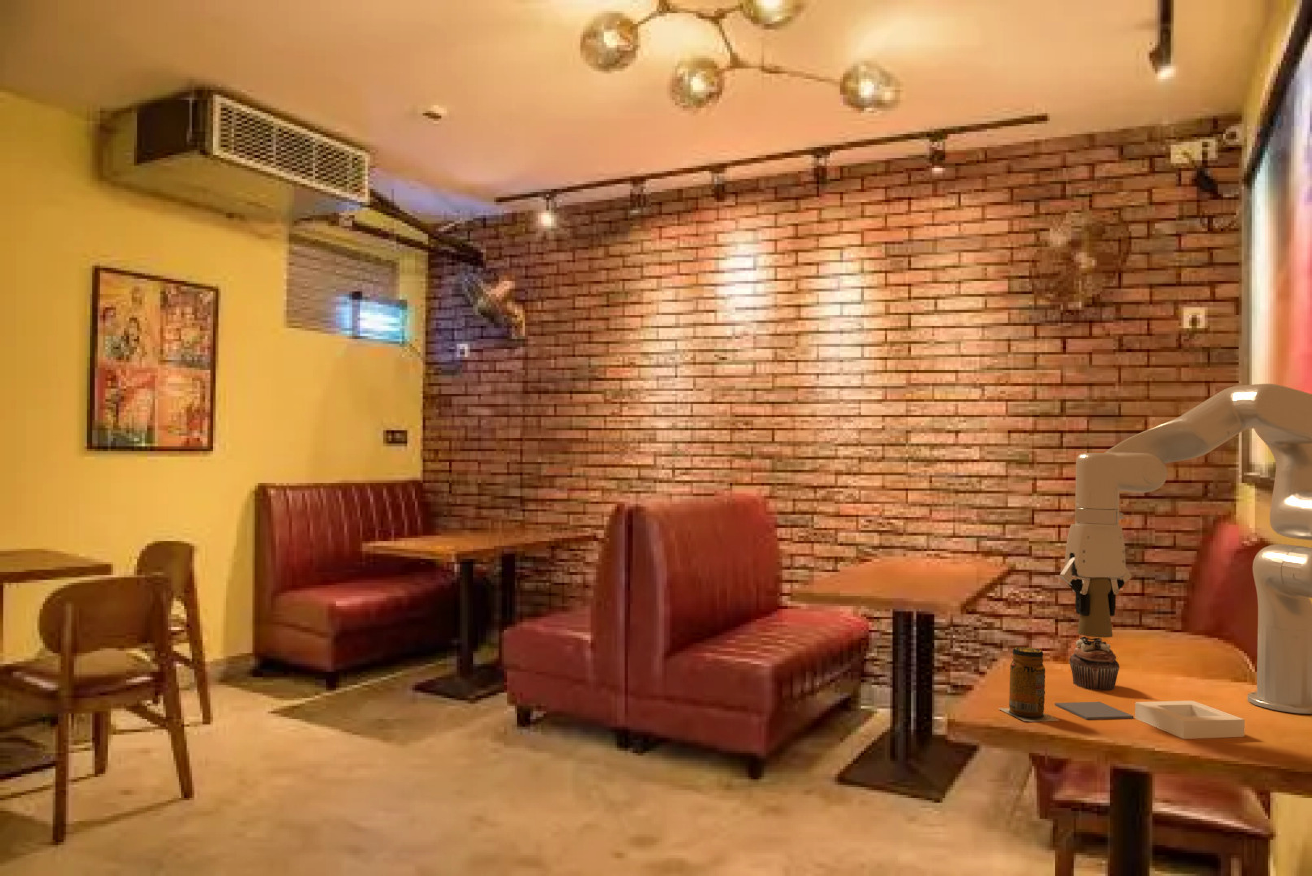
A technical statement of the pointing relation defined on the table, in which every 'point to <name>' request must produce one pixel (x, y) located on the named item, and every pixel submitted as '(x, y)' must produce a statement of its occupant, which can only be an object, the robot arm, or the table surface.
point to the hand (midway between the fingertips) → (1095, 613)
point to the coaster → (1093, 710)
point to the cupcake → (1094, 665)
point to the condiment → (1027, 686)
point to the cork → (1097, 610)
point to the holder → (1189, 719)
